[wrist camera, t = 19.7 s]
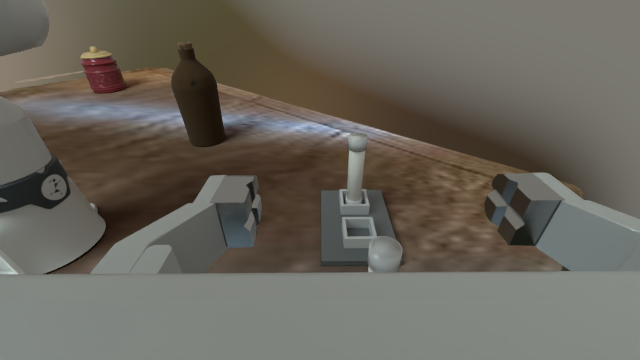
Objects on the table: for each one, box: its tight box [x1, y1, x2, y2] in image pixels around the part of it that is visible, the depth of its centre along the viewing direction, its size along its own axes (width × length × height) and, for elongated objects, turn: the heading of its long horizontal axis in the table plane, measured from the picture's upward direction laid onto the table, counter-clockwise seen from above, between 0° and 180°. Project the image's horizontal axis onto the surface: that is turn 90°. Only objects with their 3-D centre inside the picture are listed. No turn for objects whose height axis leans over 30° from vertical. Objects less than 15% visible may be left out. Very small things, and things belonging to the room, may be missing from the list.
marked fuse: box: [367, 236, 403, 272], centre depth 29 cm, size 3×3×14 cm
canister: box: [80, 46, 126, 93], centre depth 121 cm, size 13×13×18 cm
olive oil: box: [171, 42, 225, 147], centre depth 73 cm, size 11×11×25 cm
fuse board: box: [321, 189, 403, 266], centre depth 49 cm, size 12×18×3 cm, turn 0°
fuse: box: [345, 133, 368, 204], centre depth 48 cm, size 3×3×14 cm
